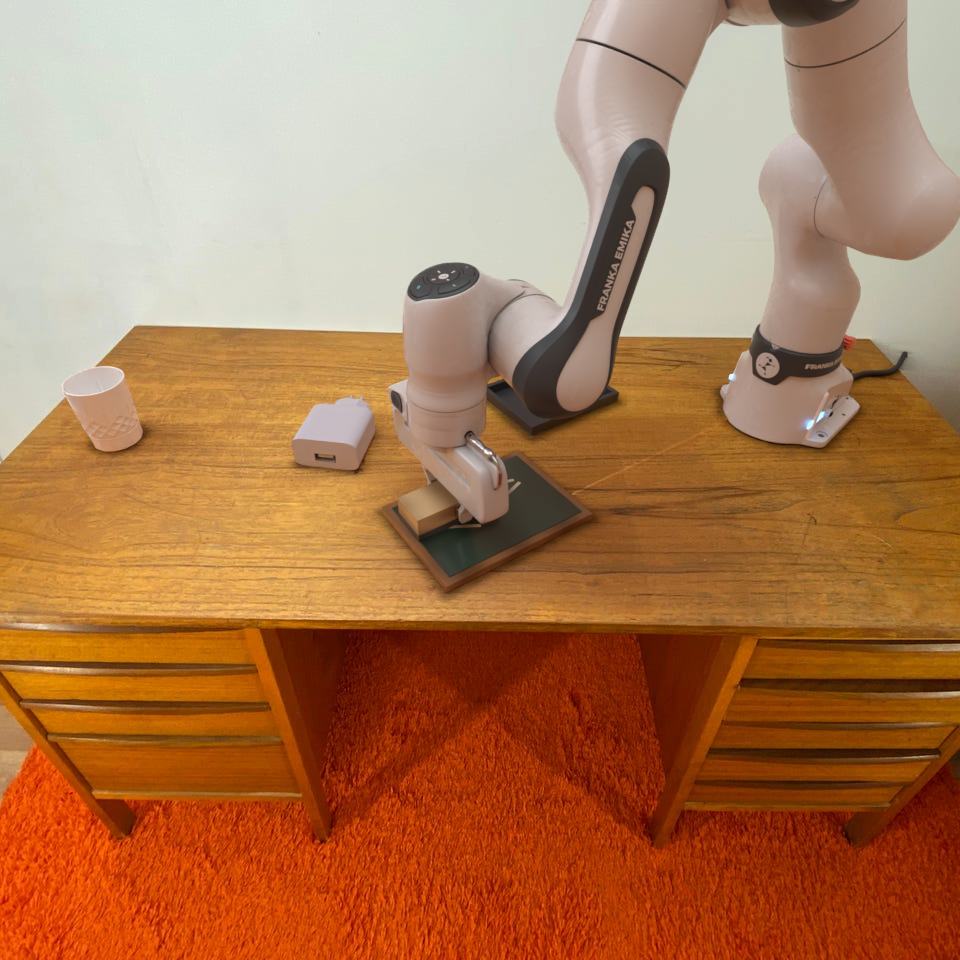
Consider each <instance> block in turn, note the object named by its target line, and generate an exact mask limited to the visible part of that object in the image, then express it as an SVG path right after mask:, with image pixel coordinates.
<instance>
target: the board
mask: <svg viewBox="0 0 960 960" xmlns="http://www.w3.org/2000/svg"><path fill="white" fill-rule="evenodd" d="M499 457H500V456H499ZM500 459H501V460H502V461H503V463H504V465H505V468H506V472H507V479H508V492H509V509H508V511H507V513H506V514H504V515H503V516H501V517H499V518H497V519H495V520H493V521H490V522H488V523H484V524H482V523H480V522H478V521H477V520H476V518H475V517H472V519H471V520H469V521H467V522H465V523H459V524H456V525H454V526H452V527H450V528H448V529H445V530H443V531H441V532H439V533H437V534H435V535H432V536H430V537H428V538H426V539H424V540H421V541H418V540H417V538H416V537H415V536H414V535H413V534H412V532H411V531H410V530H409V529H408V528H407V527H406V525H405V524H404V523H403V522H402V521H401V519H400V518H399V509H398V499H396V500H395V501H392V502H389V503H388V504H386V505H383V506H381V514H382V515H383V516H384V517H385V519H386V520H387V521H388V522H389V524H390V525H391V526H392V528H393V529H394V530H395V531H396V532H397V534H398V535H399V536H400V538H402V540H403V541H404V543H406V545H407V546H408V548H410V550H412V552H413V553H414V554H415V555H416V557H417V558H418V560H420V562H421V563H422V564H423V565H424V566H425V568H426V569H427V571H429V573H430V574H431V576H433V578H434V579H435V580H436V582H437V583H438V584H439V585H440V587H441V588H442V589H443V590H444V591H445V593H449V592H451V591H454V590H456V589H458V588H460V587H461V586H463V585H465V584H467V583H469V582H471V581H473V580H475V579H478V578H479V577H481V576H483V575H485V574H487V573H489V572H491V571H493V570H495V569H497V568H499V567H501V566H503V565H505V564H508V563H509V562H511V561H512V560H515V559H517V558H519V557H521V556H523V555H524V554H526V553H528V552H530V551H532V550H534V549H536V548H538V547H540V546H542V545H544V544H547V543H548V542H550V541H552V540H554V539H556V538H558V537H561V536H562V535H564V534H566V533H568V532H569V531H572V530H574V529H576V528H577V527H579V526H581V525H583V524H585V523H587V522H590V521H591V520H592V519H593V514H594V513H593V512H592V511H590V510H589V508H587V507H586V506H585V505H584V504H583V503H581V502H580V501H579V500H577V499H576V497H574V496H573V495H572V494H571V493H569V492H568V491H567V490H566V489H565V488H563V487H562V486H561V485H560V484H559V483H558V482H556V481H555V480H554V479H553V478H552V477H550V476H549V475H548V474H547V473H546V472H545V471H543V470H542V469H541V468H540V467H539V466H538V465H536V464H535V463H534V462H533V461H531V459H529V458H528V457H527V456H526V455H524V454H523V453H522V452H521V451H520V450H515V451H513V452H510V453H508V454H505V455H503V456H501V457H500Z"/></svg>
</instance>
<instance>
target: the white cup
mask: <svg viewBox="0 0 960 960" xmlns="http://www.w3.org/2000/svg"><path fill="white" fill-rule="evenodd" d="M60 387H61V388H60V389H61V391H62V393H63V395H64V396H65V398H66V400H67V402H68V403H69V405H70V407H71V409H72V411H73V413H74V416H75V417H76V418H77V419H78V422H79V423H80V425H81V427H82V429H83V430H84V433H86V434H87V436H88V437H89V440H90V441H91V443H92V445H93V446H94V448H95V449H96V450H98V451H102V452H107V453H110V452H112V453H113V452H118V451H122V450H126V449H128V448H131V447H132V446H134V445H136V444H137V443H138V442H139V441H140V440H141V439H142V437H143V433H144V431H143V427H142V425H141V422H140V419H139V416H138V415H139V414H138V411H137V408H136V403H135V402H134V399H133V395H132V393H131V390H130V386H129V384H128V381H127V377H126V375H125V373H124V371H123V370H122V369H121V368H118V367H115V366H110V365H101V366H100V365H99V366H91V367H88V368H85V369H82V370H79V371H77V372H74V373H73V374H71V375H69V376H68V377H67V378H65V379H64V380H63V382H62V383H61V386H60Z"/></svg>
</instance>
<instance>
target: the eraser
mask: <svg viewBox="0 0 960 960" xmlns="http://www.w3.org/2000/svg"><path fill="white" fill-rule="evenodd" d="M396 500H398V509H399V518H400V519H401V521H402V522H403V523H404V524H405V525H406V527H407V528H408V529H409V530H410V531H411V532H412V534H413V535H414V536H415V537H416V538H417V540H418V541H421V540H424V539H426V538H428V537H430V536H432V535H435V534H437V533H439V532H441V531H443V530H445V529H448V528H450V527H452V526H454V525H456V524H459V523H461V522H460V521H459V520H458V519H457V518H456V517H455V507H457V506H459V505H460V504H459V502H458V500H457V499H456V498H455V497H454V496H453V495H452V494H451V493H450V492H449V491H448V490H447V489H446V488H445V487H444V486H443V485H442V484H441V483H440V482H439V481H436V482H434V483H431V484H429V485H428V484H426V485H424V486H422V487H420V488H417V489H415V490H412V491H409V492H407V493H405V494H402V495H399V496H397V499H396ZM473 517H474V516H473Z"/></svg>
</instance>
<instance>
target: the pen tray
mask: <svg viewBox="0 0 960 960" xmlns="http://www.w3.org/2000/svg"><path fill="white" fill-rule="evenodd" d="M619 397H620V391H618V390H616V389H615V388H613V387H612V386H611V385H609V384H608V386H607V388H606V390H605V392H604V394H603V395H602V397H601V398H600V399H599V400H598V401H597V402H596V403H595V404H594V405H593V406H592V407H591V408H589V409H588V410H586V411H584V412H582V413H580V414H578V415H575V416H572V417H568V418H563V419H543V418H539V417H537V416H535V415H534V414H532V413H531V412H530V411H529V410H528V408H527V407H526V406H525V404H524V403H523V402H522V400H521V399H520V398H519V397H518V395H517V394H516V393H515V391H514V389H513V388H512V387H511V386H510V385H509V384H508V383H507V382H506V381H505V380H504V379H503V378H500V379H499V380H496V381H493V382H490V383H488V384H487V402H489V403H490V404H491V405H493V406H494V407H495V408H496V409H498V410H499V411H500V412H501V413H503V414H504V416H506V417H508V418H509V419H510V420H511V421H512V422H514V423H515V424H516V425H517V426H518V427H520V428H521V429H522V430H524V431H525V432H526V433H527V434H529V435H530V436H535V435H537V434H540V433H543V432H545V431H547V430H549V429H552V428H555V427H557V426H559V425H562V424H564V423H566V422H569V421H571V420H574V419H576V418H579V417H582V416H584V415H586V414H588V413H591V412H594V411H596V410H598V409H601V408H603V407H606V406H608V405H610V404H613V403H615V402H618V401H619Z"/></svg>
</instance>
